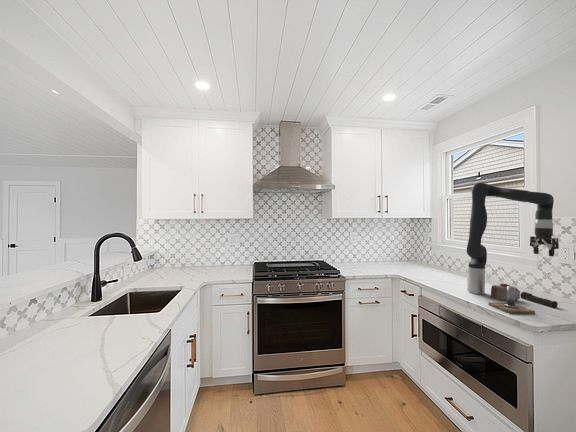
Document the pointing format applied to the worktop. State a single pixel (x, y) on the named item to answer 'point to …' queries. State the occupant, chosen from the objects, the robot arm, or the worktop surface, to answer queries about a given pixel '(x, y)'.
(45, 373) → the worktop surface
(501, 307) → the walnut board
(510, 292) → the round metal knob
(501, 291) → the food item
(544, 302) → the hand tool
